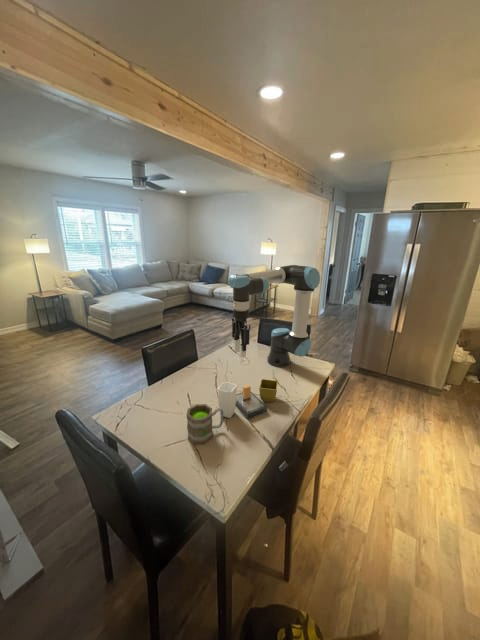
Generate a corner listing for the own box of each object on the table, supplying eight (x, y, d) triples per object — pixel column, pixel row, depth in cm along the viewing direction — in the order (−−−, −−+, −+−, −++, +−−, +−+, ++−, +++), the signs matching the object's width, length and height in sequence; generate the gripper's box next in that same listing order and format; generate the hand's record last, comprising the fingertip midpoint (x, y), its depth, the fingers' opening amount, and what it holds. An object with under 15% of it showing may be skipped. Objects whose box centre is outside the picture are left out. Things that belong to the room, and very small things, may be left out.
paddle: (249, 396, 132) (249, 384, 130) (250, 397, 131) (251, 386, 129) (242, 399, 130) (242, 387, 128) (243, 400, 129) (243, 388, 127)
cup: (216, 416, 122) (216, 388, 117) (223, 407, 128) (223, 381, 124) (230, 421, 119) (231, 392, 115) (237, 411, 126) (237, 384, 121)
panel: (249, 394, 139) (249, 389, 138) (267, 411, 126) (267, 406, 125) (231, 401, 133) (231, 395, 132) (247, 419, 120) (248, 413, 119)
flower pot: (275, 405, 131) (276, 390, 128) (258, 403, 132) (259, 387, 130) (276, 395, 139) (278, 380, 136) (260, 393, 141) (261, 378, 138)
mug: (190, 448, 103) (189, 423, 100) (184, 430, 113) (183, 407, 109) (227, 437, 110) (227, 413, 106) (219, 421, 119) (219, 398, 115)
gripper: (224, 305, 128) (224, 349, 135) (244, 315, 113) (243, 363, 120) (238, 303, 131) (237, 346, 139) (258, 312, 117) (256, 359, 124)
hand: (240, 354), depth 129 cm, fingers open, 5 cm apart
